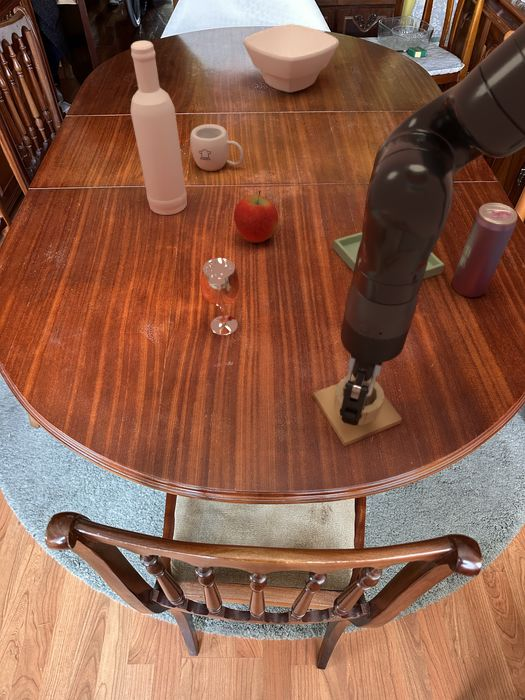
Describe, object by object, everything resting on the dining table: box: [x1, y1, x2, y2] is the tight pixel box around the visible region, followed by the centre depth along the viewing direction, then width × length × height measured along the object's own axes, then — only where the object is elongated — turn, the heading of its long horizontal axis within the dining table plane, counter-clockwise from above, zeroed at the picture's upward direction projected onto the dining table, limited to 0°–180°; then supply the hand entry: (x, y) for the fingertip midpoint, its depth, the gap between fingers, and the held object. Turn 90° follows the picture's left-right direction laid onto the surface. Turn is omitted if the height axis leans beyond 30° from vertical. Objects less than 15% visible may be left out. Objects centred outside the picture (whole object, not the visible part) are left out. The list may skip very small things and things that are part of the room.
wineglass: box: [200, 257, 241, 336], centre depth 78 cm, size 6×6×12 cm
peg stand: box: [312, 381, 403, 447], centre depth 69 cm, size 9×9×6 cm
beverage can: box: [451, 202, 518, 298], centre depth 82 cm, size 6×6×15 cm
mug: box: [189, 123, 244, 172], centre depth 112 cm, size 12×8×8 cm
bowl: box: [242, 23, 340, 93], centre depth 139 cm, size 22×22×12 cm
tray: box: [333, 231, 445, 280], centre depth 92 cm, size 14×14×2 cm
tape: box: [334, 374, 385, 425], centre depth 70 cm, size 6×6×3 cm
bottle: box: [130, 40, 188, 216], centre depth 94 cm, size 8×8×30 cm
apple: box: [233, 190, 279, 244], centre depth 94 cm, size 8×8×10 cm
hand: (357, 396), depth 69 cm, fingers open, 8 cm apart
